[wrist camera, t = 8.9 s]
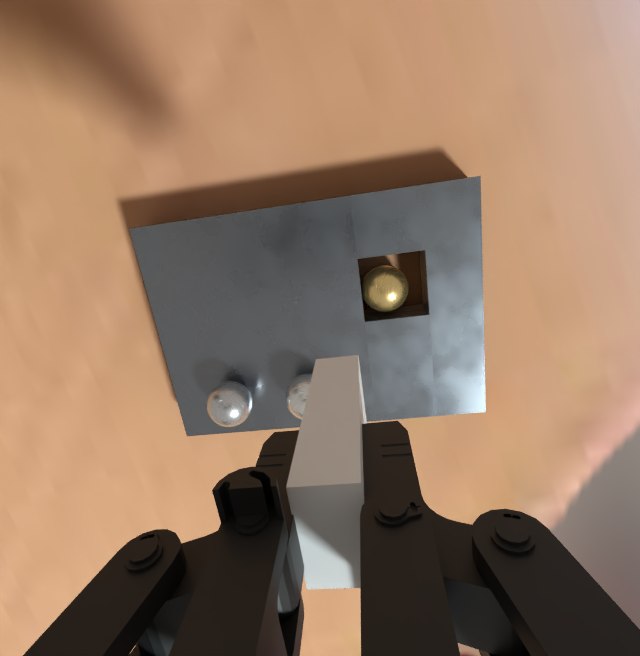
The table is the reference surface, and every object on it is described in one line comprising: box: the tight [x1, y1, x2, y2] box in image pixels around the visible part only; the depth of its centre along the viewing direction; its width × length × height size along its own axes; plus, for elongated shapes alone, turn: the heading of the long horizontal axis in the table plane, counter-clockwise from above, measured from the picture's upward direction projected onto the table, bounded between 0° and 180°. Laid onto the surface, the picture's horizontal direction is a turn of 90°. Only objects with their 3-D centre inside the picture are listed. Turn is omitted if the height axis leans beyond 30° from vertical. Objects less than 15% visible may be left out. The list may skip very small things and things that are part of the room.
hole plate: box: [129, 176, 486, 436], centre depth 31 cm, size 17×24×3 cm
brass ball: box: [362, 265, 408, 312], centre depth 30 cm, size 3×3×3 cm
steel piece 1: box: [206, 381, 253, 427], centre depth 31 cm, size 3×3×3 cm
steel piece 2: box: [285, 373, 312, 419], centre depth 30 cm, size 3×3×3 cm
